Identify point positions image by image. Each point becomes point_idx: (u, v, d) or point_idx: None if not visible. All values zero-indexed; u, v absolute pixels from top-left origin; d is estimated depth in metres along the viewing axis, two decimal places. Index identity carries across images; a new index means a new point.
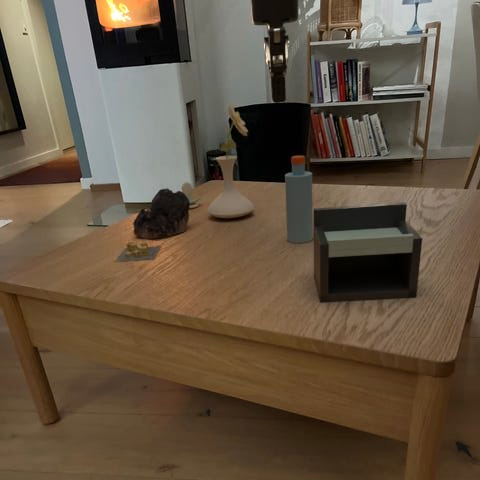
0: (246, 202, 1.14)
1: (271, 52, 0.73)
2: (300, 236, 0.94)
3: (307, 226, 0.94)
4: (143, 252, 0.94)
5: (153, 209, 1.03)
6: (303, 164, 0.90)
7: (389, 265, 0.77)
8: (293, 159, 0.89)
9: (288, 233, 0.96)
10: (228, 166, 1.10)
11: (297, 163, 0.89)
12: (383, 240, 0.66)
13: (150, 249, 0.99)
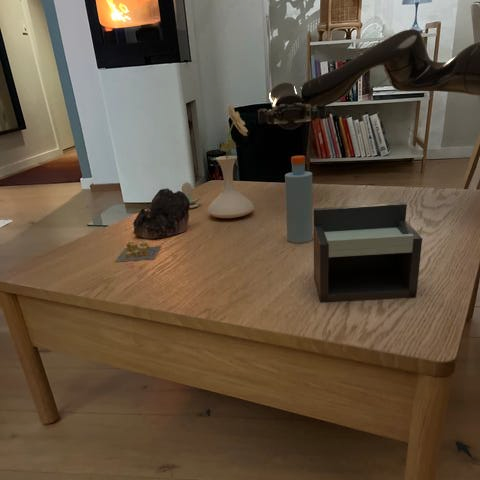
0: (246, 202, 1.14)
1: None
2: (300, 236, 0.94)
3: (307, 226, 0.94)
4: (143, 252, 0.94)
5: (153, 209, 1.03)
6: (303, 164, 0.90)
7: (389, 265, 0.77)
8: (293, 159, 0.89)
9: (288, 233, 0.96)
10: (228, 166, 1.10)
11: (297, 163, 0.89)
12: (383, 240, 0.66)
13: (150, 249, 0.99)
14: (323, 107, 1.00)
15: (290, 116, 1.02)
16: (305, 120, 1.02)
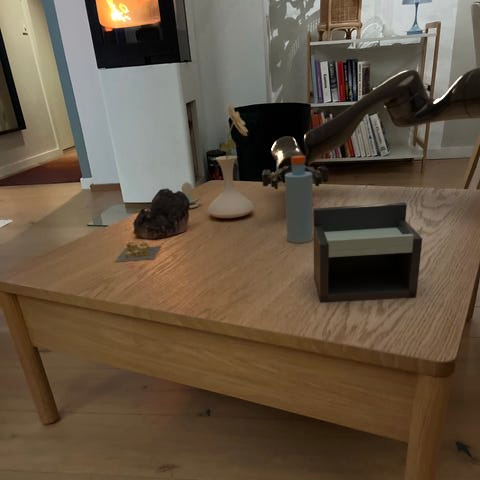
0: (246, 202, 1.14)
1: None
2: (300, 236, 0.94)
3: (307, 226, 0.94)
4: (143, 252, 0.94)
5: (153, 209, 1.03)
6: (303, 164, 0.90)
7: (389, 265, 0.77)
8: (293, 159, 0.89)
9: (288, 233, 0.96)
10: (228, 166, 1.10)
11: (297, 163, 0.89)
12: (383, 240, 0.66)
13: (150, 249, 0.99)
14: (326, 171, 1.01)
15: None
16: None
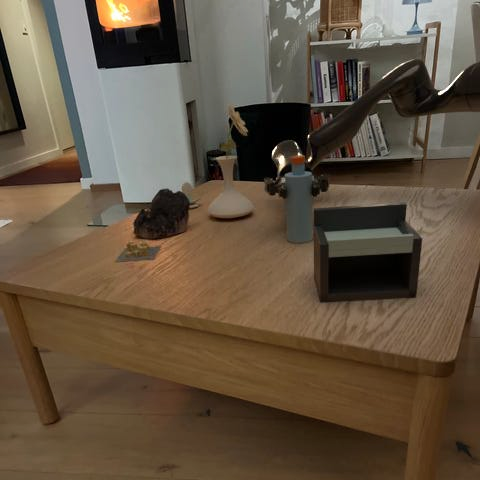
0: (246, 202, 1.14)
1: (267, 191, 0.97)
2: (300, 236, 0.94)
3: (307, 226, 0.94)
4: (143, 252, 0.94)
5: (153, 209, 1.03)
6: (303, 164, 0.90)
7: (389, 265, 0.77)
8: (293, 159, 0.89)
9: (288, 233, 0.96)
10: (228, 166, 1.10)
11: (297, 163, 0.89)
12: (383, 240, 0.66)
13: (150, 249, 0.99)
14: (324, 180, 0.93)
15: None
16: None
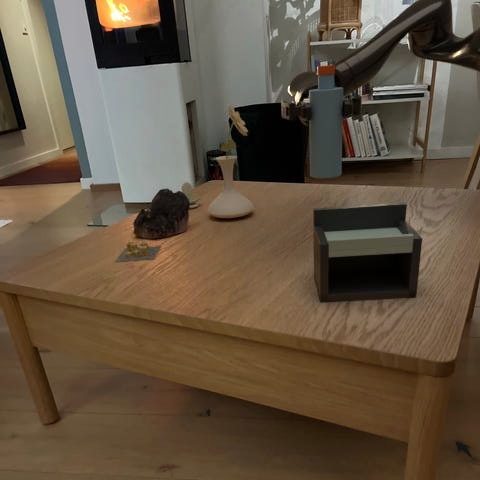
0: (246, 202, 1.14)
1: (285, 117, 0.79)
2: (327, 170, 0.77)
3: (335, 156, 0.76)
4: (143, 252, 0.94)
5: (153, 209, 1.03)
6: (332, 75, 0.72)
7: (389, 265, 0.77)
8: (320, 68, 0.71)
9: (312, 167, 0.78)
10: (228, 166, 1.10)
11: (325, 73, 0.71)
12: (383, 240, 0.66)
13: (150, 249, 0.99)
14: (357, 100, 0.76)
15: None
16: None
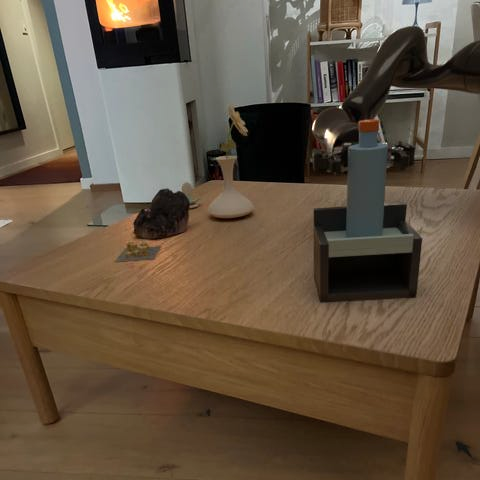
0: (246, 202, 1.14)
1: (313, 167, 0.71)
2: (367, 235, 0.67)
3: (377, 220, 0.67)
4: (143, 252, 0.94)
5: (153, 209, 1.03)
6: (376, 131, 0.63)
7: (389, 265, 0.77)
8: (362, 124, 0.62)
9: (349, 230, 0.69)
10: (228, 166, 1.10)
11: (368, 130, 0.62)
12: (383, 240, 0.66)
13: (150, 249, 0.99)
14: (412, 149, 0.67)
15: None
16: None
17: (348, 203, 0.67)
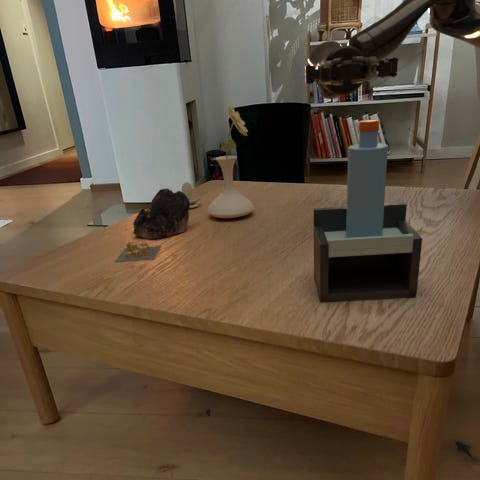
0: (246, 202, 1.14)
1: (305, 81, 0.77)
2: (367, 235, 0.67)
3: (377, 220, 0.67)
4: (143, 252, 0.94)
5: (153, 209, 1.03)
6: (376, 131, 0.63)
7: (389, 265, 0.77)
8: (362, 124, 0.62)
9: (349, 230, 0.69)
10: (228, 166, 1.10)
11: (368, 130, 0.62)
12: (383, 240, 0.66)
13: (150, 249, 0.99)
14: (395, 60, 0.73)
15: (347, 74, 0.76)
16: (368, 79, 0.75)
17: (348, 203, 0.67)
